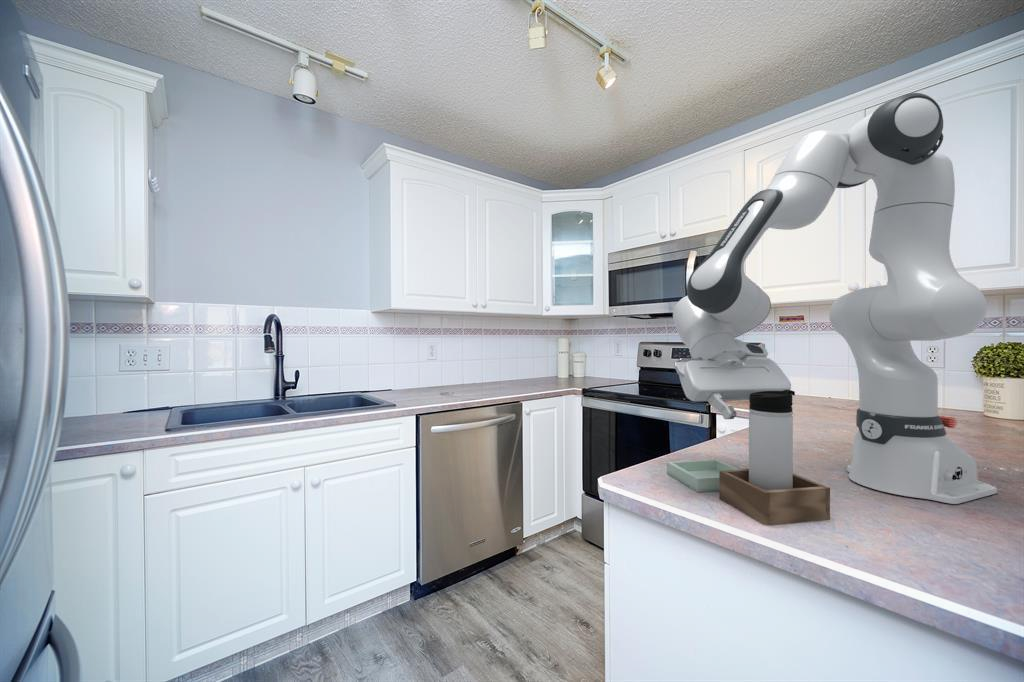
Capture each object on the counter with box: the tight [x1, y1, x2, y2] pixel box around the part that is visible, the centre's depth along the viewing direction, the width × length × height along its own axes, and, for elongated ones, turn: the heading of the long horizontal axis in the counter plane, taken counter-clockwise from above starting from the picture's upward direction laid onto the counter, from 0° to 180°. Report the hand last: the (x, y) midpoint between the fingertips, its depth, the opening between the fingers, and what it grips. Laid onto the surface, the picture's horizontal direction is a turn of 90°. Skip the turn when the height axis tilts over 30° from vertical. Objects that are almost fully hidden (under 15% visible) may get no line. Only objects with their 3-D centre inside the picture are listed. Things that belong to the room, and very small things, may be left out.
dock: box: [666, 458, 740, 493], centre depth 83 cm, size 12×11×2 cm
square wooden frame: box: [718, 468, 831, 526], centre depth 69 cm, size 12×11×5 cm
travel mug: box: [748, 389, 796, 491], centre depth 69 cm, size 6×7×20 cm
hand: (755, 416), depth 73 cm, fingers open, 8 cm apart
